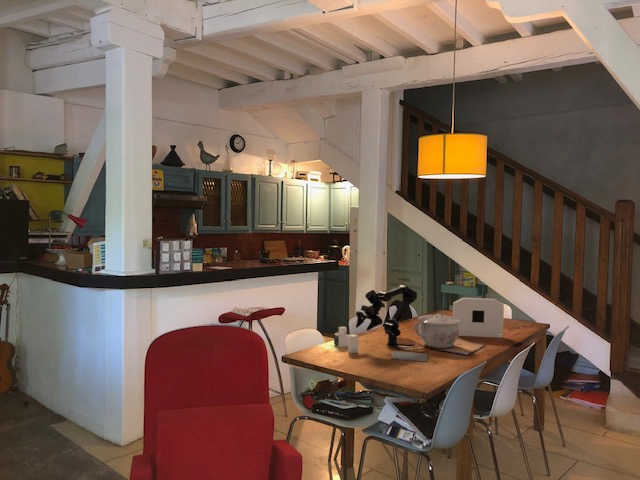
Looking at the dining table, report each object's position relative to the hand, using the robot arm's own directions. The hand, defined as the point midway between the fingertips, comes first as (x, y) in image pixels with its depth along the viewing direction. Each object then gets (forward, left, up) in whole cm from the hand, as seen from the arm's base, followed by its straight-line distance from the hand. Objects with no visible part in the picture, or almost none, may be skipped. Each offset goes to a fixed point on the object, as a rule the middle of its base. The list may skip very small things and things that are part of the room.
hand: (361, 328), depth 315 cm
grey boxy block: (-74, +67, -14) cm, 101 cm away
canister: (+5, -4, -13) cm, 15 cm away
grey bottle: (-8, -14, -13) cm, 21 cm away
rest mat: (+4, +29, -13) cm, 32 cm away
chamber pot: (-28, +44, -14) cm, 54 cm away
